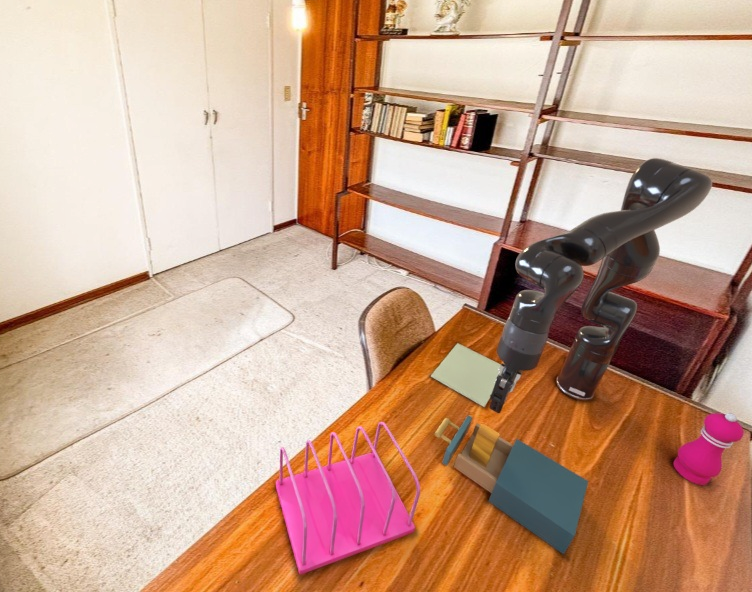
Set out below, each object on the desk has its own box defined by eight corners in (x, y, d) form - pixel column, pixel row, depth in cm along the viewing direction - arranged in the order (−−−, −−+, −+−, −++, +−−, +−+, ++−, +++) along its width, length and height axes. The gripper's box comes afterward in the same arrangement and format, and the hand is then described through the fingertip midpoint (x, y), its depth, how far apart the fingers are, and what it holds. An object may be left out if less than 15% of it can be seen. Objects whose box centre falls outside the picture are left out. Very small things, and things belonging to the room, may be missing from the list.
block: (473, 448, 96) (482, 423, 92) (490, 459, 94) (500, 433, 90) (468, 456, 94) (477, 431, 90) (485, 468, 92) (495, 442, 88)
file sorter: (275, 485, 89) (276, 438, 82) (374, 455, 96) (383, 410, 89) (299, 576, 74) (302, 528, 67) (414, 532, 81) (428, 485, 74)
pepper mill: (718, 490, 91) (766, 432, 82) (682, 483, 92) (726, 425, 84) (696, 461, 97) (739, 404, 89) (663, 455, 99) (702, 398, 90)
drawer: (425, 451, 96) (429, 438, 94) (448, 417, 105) (452, 405, 103) (501, 504, 86) (506, 490, 84) (519, 462, 95) (525, 448, 93)
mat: (457, 344, 133) (457, 343, 133) (507, 369, 123) (507, 367, 123) (430, 376, 120) (431, 375, 119) (484, 407, 110) (484, 405, 110)
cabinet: (488, 501, 87) (495, 482, 84) (509, 456, 97) (516, 438, 94) (563, 554, 78) (574, 536, 75) (577, 499, 88) (588, 481, 85)
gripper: (533, 369, 71) (509, 429, 78) (552, 332, 81) (529, 389, 88) (490, 348, 76) (471, 407, 83) (513, 316, 85) (494, 371, 93)
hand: (501, 398), depth 85 cm, fingers open, 8 cm apart
